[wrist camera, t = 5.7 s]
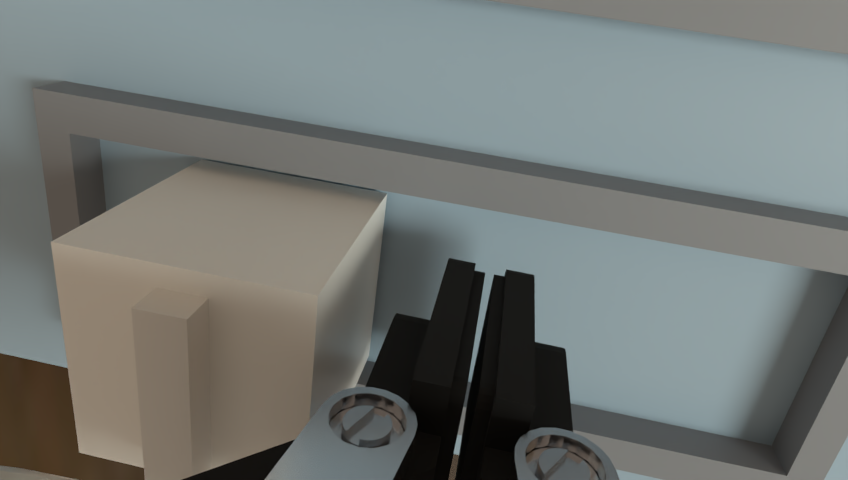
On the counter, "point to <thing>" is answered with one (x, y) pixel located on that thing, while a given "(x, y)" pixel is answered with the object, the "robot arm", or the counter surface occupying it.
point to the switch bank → (497, 184)
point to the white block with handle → (215, 314)
